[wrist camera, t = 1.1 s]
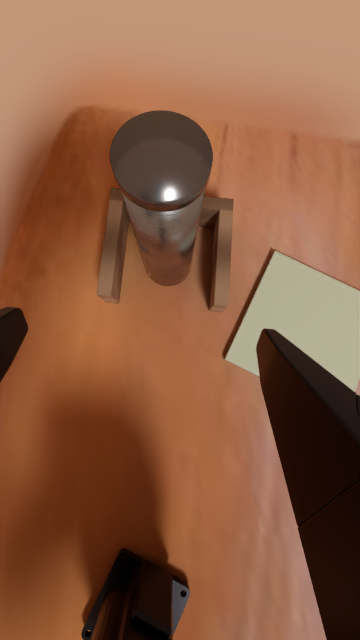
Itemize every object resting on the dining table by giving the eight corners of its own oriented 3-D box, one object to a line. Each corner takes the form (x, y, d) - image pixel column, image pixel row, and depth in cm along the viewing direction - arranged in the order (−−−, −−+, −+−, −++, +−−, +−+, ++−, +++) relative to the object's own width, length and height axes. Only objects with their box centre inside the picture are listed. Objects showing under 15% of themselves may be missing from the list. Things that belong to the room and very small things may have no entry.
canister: (178, 294, 23) (184, 218, 10) (136, 274, 23) (90, 173, 11) (199, 254, 24) (229, 136, 11) (158, 234, 24) (140, 95, 11)
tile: (341, 417, 22) (344, 419, 21) (223, 359, 22) (225, 359, 22) (382, 304, 24) (386, 303, 23) (273, 252, 24) (275, 250, 24)
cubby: (221, 311, 23) (228, 305, 20) (106, 302, 23) (96, 294, 20) (226, 218, 25) (233, 199, 22) (118, 208, 24) (111, 187, 21)
